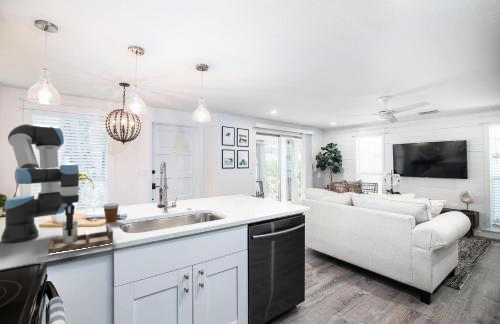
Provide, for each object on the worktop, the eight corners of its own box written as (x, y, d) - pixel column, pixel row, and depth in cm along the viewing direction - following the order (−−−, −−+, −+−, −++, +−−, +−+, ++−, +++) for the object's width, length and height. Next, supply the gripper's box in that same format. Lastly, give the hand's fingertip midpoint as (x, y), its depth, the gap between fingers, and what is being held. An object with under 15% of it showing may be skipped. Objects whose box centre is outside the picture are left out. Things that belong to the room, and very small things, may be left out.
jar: (77, 242, 122) (77, 222, 122) (61, 245, 119) (61, 224, 118) (77, 238, 128) (77, 219, 127) (62, 241, 124) (62, 221, 124)
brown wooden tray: (48, 255, 112) (48, 240, 112) (51, 244, 126) (51, 231, 125) (112, 244, 127) (112, 231, 127) (109, 235, 141) (109, 223, 140)
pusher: (86, 245, 121) (86, 234, 121) (85, 237, 133) (85, 227, 132) (88, 245, 122) (88, 234, 122) (88, 237, 133) (88, 227, 133)
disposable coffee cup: (101, 223, 164) (101, 206, 164) (105, 220, 174) (105, 203, 173) (116, 223, 167) (116, 205, 167) (120, 219, 176) (120, 203, 176)
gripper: (78, 196, 117) (78, 244, 117) (78, 191, 132) (79, 233, 133) (58, 198, 113) (59, 247, 113) (61, 192, 128) (61, 236, 129)
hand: (70, 240), depth 123 cm, fingers closed on jar, 6 cm apart
